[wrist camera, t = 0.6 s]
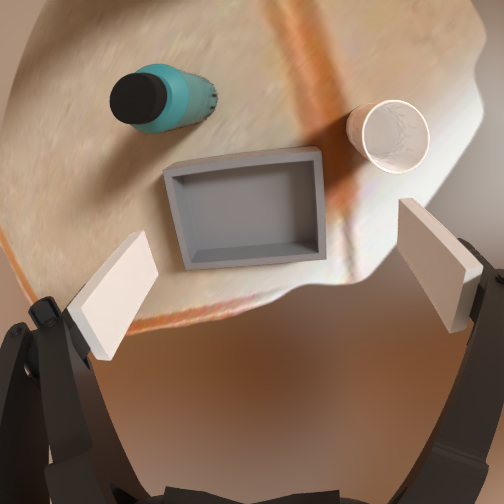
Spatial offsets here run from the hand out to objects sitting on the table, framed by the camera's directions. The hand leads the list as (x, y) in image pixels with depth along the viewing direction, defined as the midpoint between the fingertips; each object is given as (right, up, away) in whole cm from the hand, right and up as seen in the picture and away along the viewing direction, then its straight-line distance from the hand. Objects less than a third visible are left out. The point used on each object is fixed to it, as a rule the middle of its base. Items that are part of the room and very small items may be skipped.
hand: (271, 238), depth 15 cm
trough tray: (-1, +6, +27) cm, 28 cm away
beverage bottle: (-8, +19, +21) cm, 29 cm away
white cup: (+14, +16, +21) cm, 30 cm away
